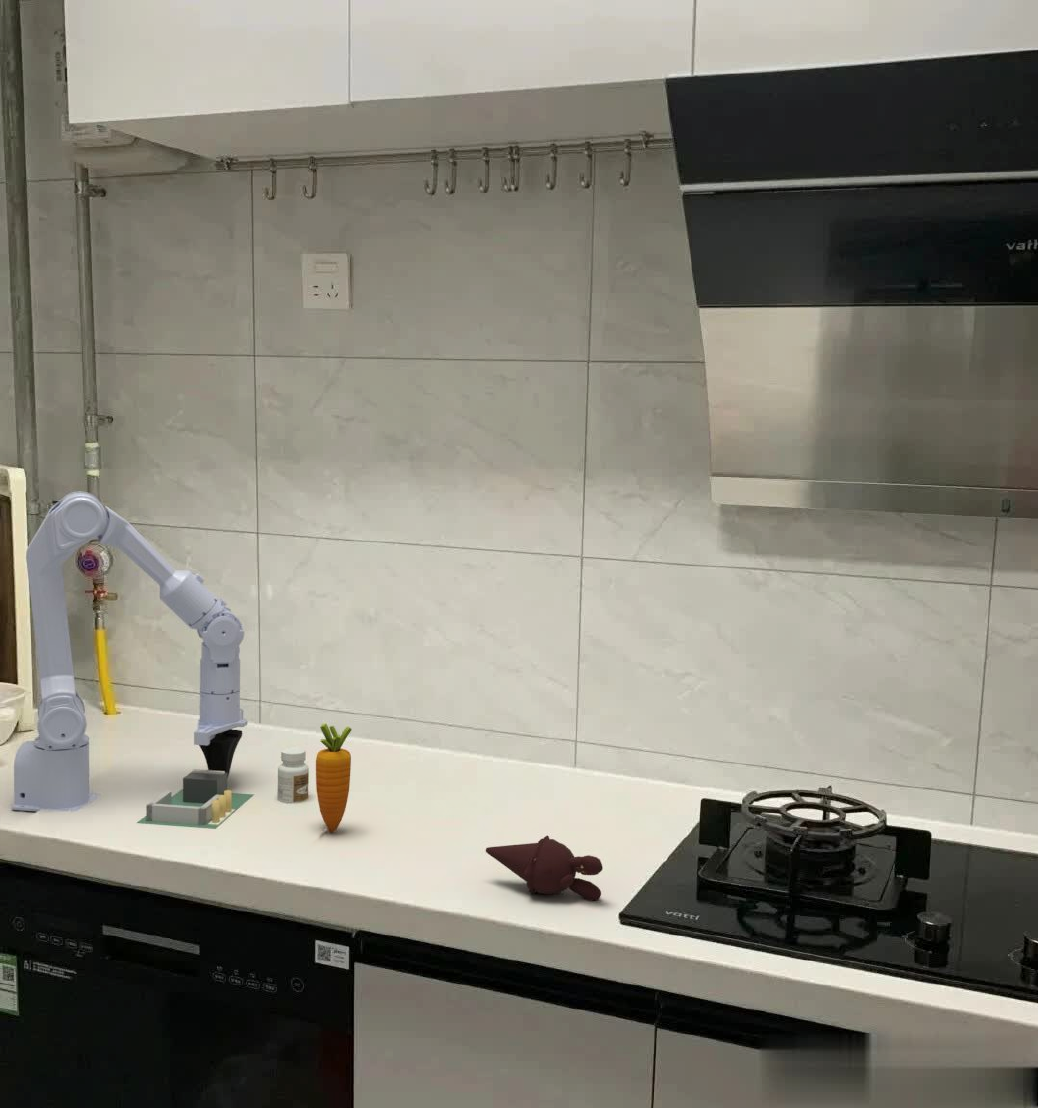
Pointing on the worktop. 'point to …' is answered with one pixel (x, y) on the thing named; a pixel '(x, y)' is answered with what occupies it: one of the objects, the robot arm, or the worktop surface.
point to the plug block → (203, 785)
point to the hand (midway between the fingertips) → (219, 780)
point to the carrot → (333, 776)
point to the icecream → (549, 867)
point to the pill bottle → (293, 776)
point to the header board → (193, 810)
